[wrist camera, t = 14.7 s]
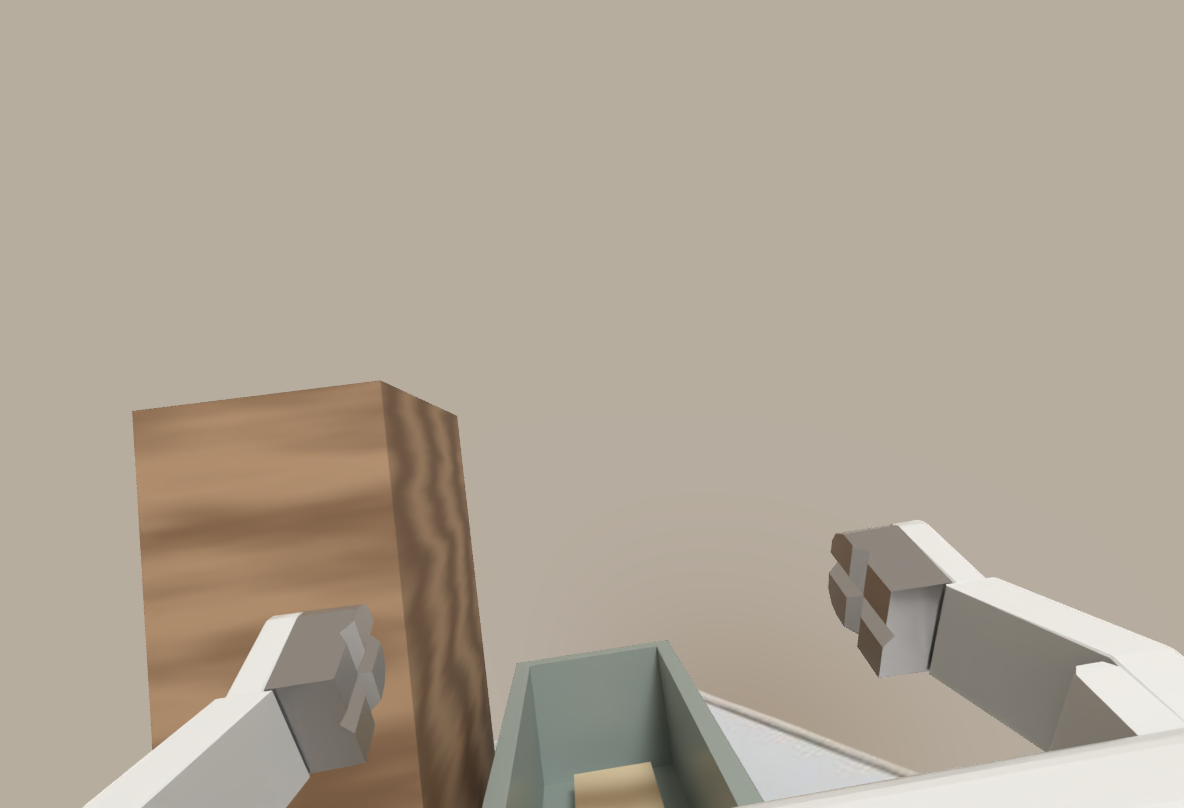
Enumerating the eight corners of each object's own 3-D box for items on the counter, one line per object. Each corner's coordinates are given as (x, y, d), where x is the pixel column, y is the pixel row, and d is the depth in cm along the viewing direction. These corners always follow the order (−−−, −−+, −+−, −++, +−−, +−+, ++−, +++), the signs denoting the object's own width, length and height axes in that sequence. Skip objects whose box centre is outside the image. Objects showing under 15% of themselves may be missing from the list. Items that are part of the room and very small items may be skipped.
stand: (458, 1095, 22) (385, 378, 25) (161, 1153, 21) (119, 411, 24) (506, 809, 41) (461, 415, 43) (347, 835, 40) (312, 434, 43)
